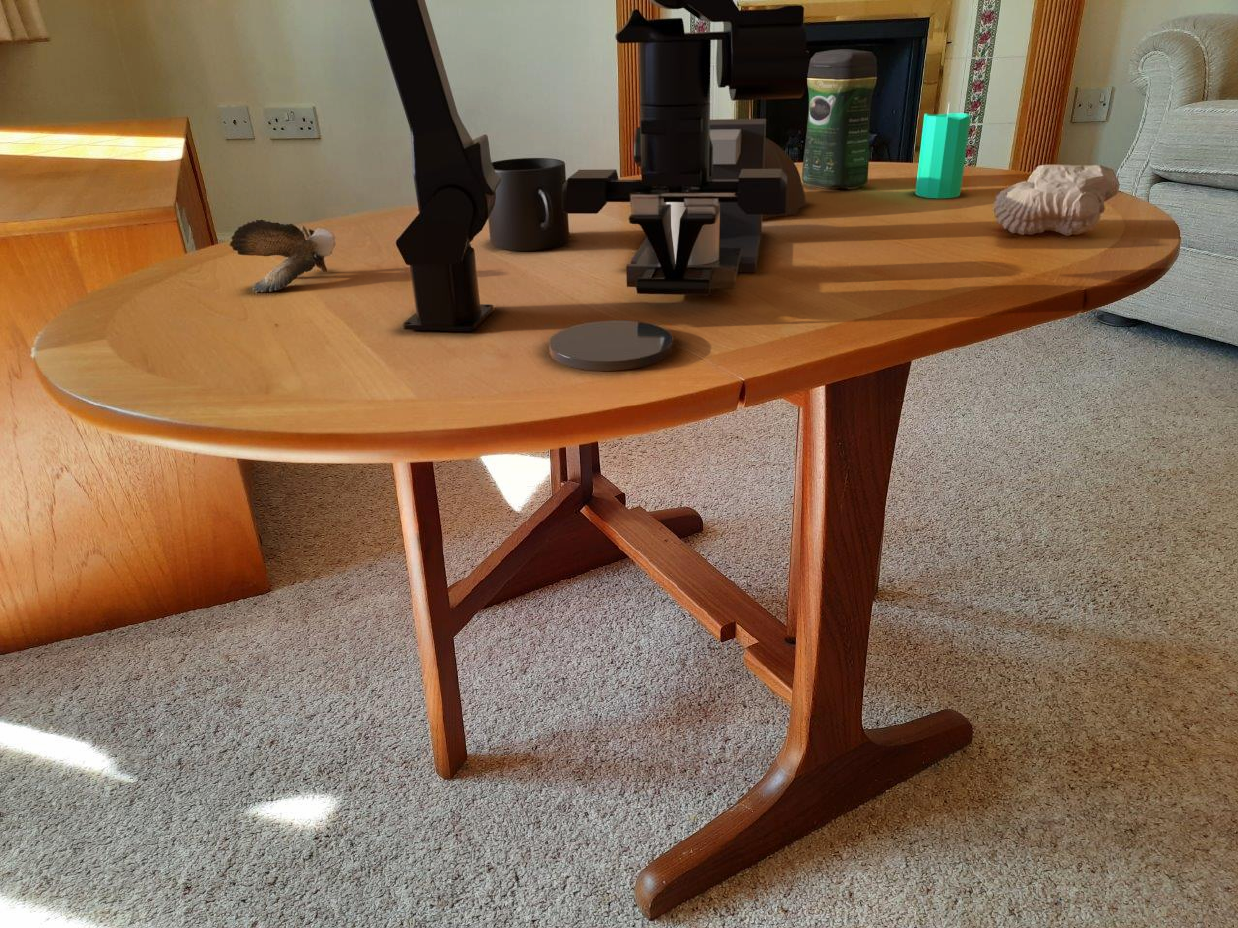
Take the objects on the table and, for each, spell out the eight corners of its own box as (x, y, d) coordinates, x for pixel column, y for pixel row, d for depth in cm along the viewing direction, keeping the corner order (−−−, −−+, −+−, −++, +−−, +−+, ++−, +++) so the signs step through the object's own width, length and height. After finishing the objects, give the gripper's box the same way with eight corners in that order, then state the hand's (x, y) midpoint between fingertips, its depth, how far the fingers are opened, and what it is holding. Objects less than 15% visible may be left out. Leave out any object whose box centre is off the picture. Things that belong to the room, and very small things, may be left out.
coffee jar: (876, 187, 131) (889, 48, 123) (835, 193, 128) (846, 51, 119) (832, 178, 139) (841, 47, 130) (792, 184, 135) (799, 50, 127)
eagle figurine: (291, 255, 99) (219, 259, 92) (313, 203, 96) (239, 202, 88) (332, 300, 98) (261, 307, 90) (355, 248, 94) (283, 251, 86)
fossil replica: (976, 229, 106) (1024, 256, 98) (985, 158, 101) (1036, 179, 93) (1068, 214, 107) (1124, 239, 99) (1081, 143, 103) (1140, 162, 95)
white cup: (716, 266, 86) (717, 202, 83) (655, 265, 87) (654, 202, 84) (721, 251, 91) (722, 190, 88) (663, 250, 92) (662, 190, 89)
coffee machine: (755, 272, 91) (760, 139, 85) (630, 270, 93) (627, 140, 88) (761, 234, 106) (766, 118, 101) (654, 233, 109) (652, 120, 103)
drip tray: (729, 306, 77) (730, 281, 76) (616, 303, 79) (615, 279, 78) (741, 255, 92) (742, 234, 91) (646, 254, 94) (646, 234, 93)
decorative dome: (820, 196, 126) (825, 121, 121) (782, 226, 110) (786, 141, 105) (692, 190, 133) (692, 119, 129) (639, 217, 117) (637, 137, 113)
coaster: (664, 373, 67) (664, 363, 66) (535, 369, 69) (535, 359, 68) (679, 330, 76) (679, 321, 75) (565, 327, 77) (565, 318, 77)
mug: (514, 261, 99) (506, 176, 95) (480, 240, 108) (472, 162, 104) (591, 249, 102) (587, 168, 98) (551, 230, 112) (546, 155, 108)
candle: (915, 197, 123) (925, 105, 117) (915, 190, 128) (925, 100, 123) (960, 198, 121) (974, 104, 116) (959, 191, 126) (972, 100, 121)
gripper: (791, 92, 78) (782, 268, 85) (583, 96, 81) (591, 265, 88) (791, 105, 68) (780, 302, 75) (554, 109, 71) (566, 298, 78)
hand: (675, 290), depth 79 cm, fingers closed, pressing on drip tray
